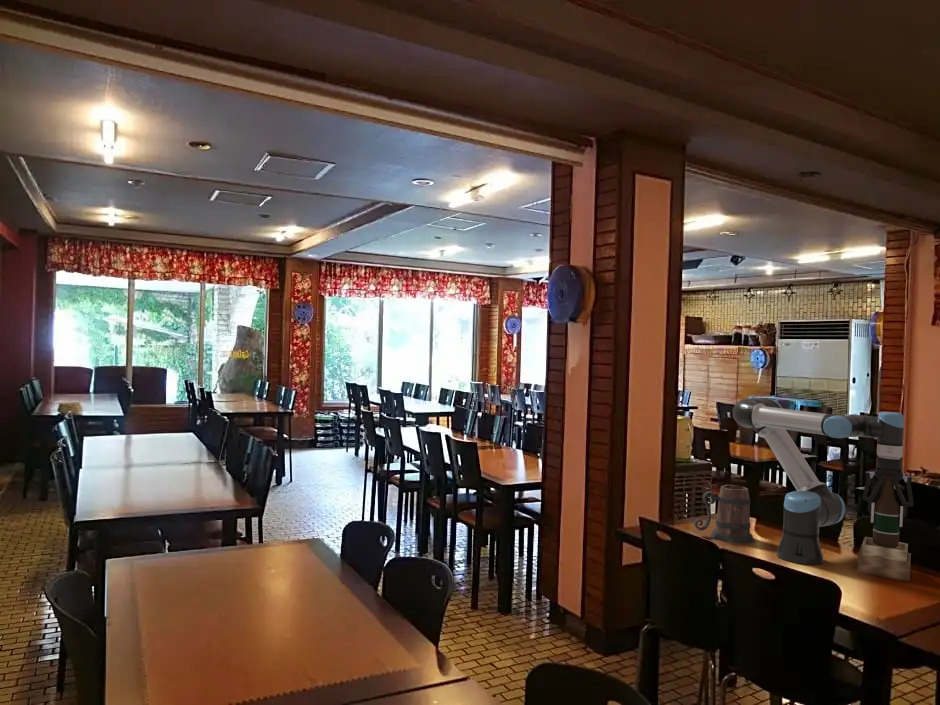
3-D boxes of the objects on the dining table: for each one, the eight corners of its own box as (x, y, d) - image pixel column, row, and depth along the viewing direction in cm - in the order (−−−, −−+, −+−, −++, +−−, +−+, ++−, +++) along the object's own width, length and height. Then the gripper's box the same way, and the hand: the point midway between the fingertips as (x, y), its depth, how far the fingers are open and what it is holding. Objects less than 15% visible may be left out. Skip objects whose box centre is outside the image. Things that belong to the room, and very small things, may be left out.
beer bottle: (897, 543, 241) (900, 474, 241) (900, 549, 234) (903, 477, 234) (871, 540, 244) (874, 471, 244) (873, 545, 237) (876, 475, 237)
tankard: (745, 532, 284) (748, 484, 284) (762, 544, 267) (764, 492, 267) (688, 530, 285) (690, 481, 285) (700, 541, 268) (703, 489, 268)
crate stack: (857, 572, 237) (858, 544, 237) (860, 561, 249) (861, 535, 249) (909, 581, 229) (910, 553, 228) (910, 570, 241) (911, 543, 241)
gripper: (854, 455, 241) (851, 520, 241) (925, 462, 230) (922, 531, 230) (855, 452, 247) (853, 516, 247) (925, 459, 236) (922, 526, 236)
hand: (886, 523), depth 239 cm, fingers closed on beer bottle, 8 cm apart
